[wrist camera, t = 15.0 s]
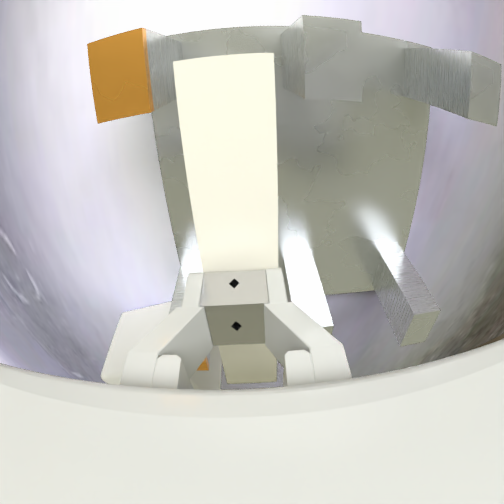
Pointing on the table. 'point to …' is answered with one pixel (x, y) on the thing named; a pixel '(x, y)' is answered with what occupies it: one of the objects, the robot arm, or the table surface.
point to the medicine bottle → (134, 330)
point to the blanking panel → (232, 177)
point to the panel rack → (316, 148)
